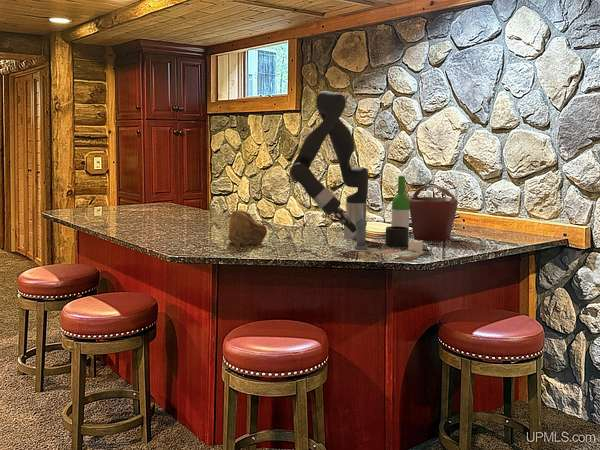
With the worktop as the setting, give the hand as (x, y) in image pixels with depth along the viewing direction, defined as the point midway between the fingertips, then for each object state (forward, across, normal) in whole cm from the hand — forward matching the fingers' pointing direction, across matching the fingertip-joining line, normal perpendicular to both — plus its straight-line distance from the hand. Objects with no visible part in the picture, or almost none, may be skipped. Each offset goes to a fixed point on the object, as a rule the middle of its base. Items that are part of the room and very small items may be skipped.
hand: (354, 229), depth 266 cm
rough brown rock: (-26, +16, +39) cm, 50 cm away
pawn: (+7, 0, +4) cm, 8 cm away
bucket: (+32, +42, -19) cm, 56 cm away
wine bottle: (+21, +24, -8) cm, 33 cm away
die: (+24, +1, -11) cm, 27 cm away
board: (+14, -5, -1) cm, 15 cm away
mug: (+20, +12, -6) cm, 24 cm away
